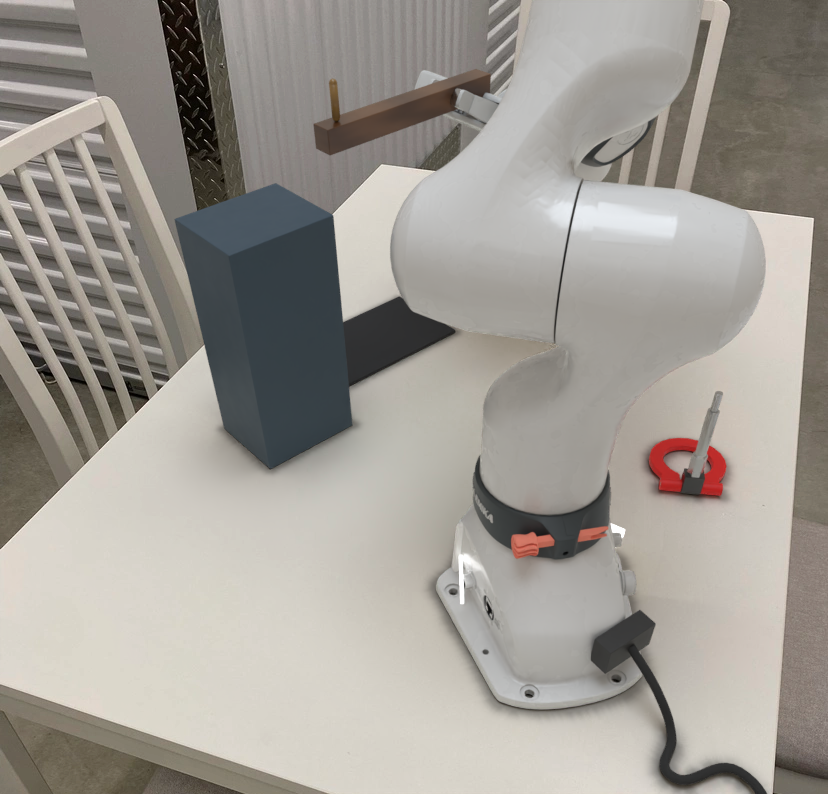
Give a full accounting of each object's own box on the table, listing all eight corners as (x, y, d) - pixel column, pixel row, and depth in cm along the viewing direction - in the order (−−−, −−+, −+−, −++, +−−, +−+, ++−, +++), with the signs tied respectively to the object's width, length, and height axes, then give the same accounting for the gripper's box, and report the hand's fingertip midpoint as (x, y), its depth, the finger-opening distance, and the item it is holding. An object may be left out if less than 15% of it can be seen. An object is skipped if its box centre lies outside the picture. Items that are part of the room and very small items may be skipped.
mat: (399, 298, 118) (399, 296, 118) (455, 332, 112) (455, 329, 112) (285, 351, 110) (285, 348, 110) (339, 391, 104) (339, 388, 103)
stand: (304, 388, 104) (275, 182, 85) (352, 425, 99) (333, 214, 80) (223, 428, 99) (173, 218, 80) (270, 469, 94) (228, 255, 75)
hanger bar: (475, 92, 91) (476, 28, 86) (490, 97, 90) (492, 33, 85) (315, 148, 82) (308, 80, 77) (330, 156, 80) (323, 87, 76)
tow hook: (646, 442, 96) (650, 493, 90) (670, 345, 87) (676, 393, 81) (719, 448, 95) (728, 500, 89) (751, 351, 86) (764, 400, 80)
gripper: (469, 79, 101) (391, 38, 91) (596, 125, 90) (525, 84, 80) (449, 133, 104) (372, 98, 94) (571, 183, 93) (499, 151, 83)
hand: (444, 92), depth 87 cm, fingers closed on hanger bar, 2 cm apart
